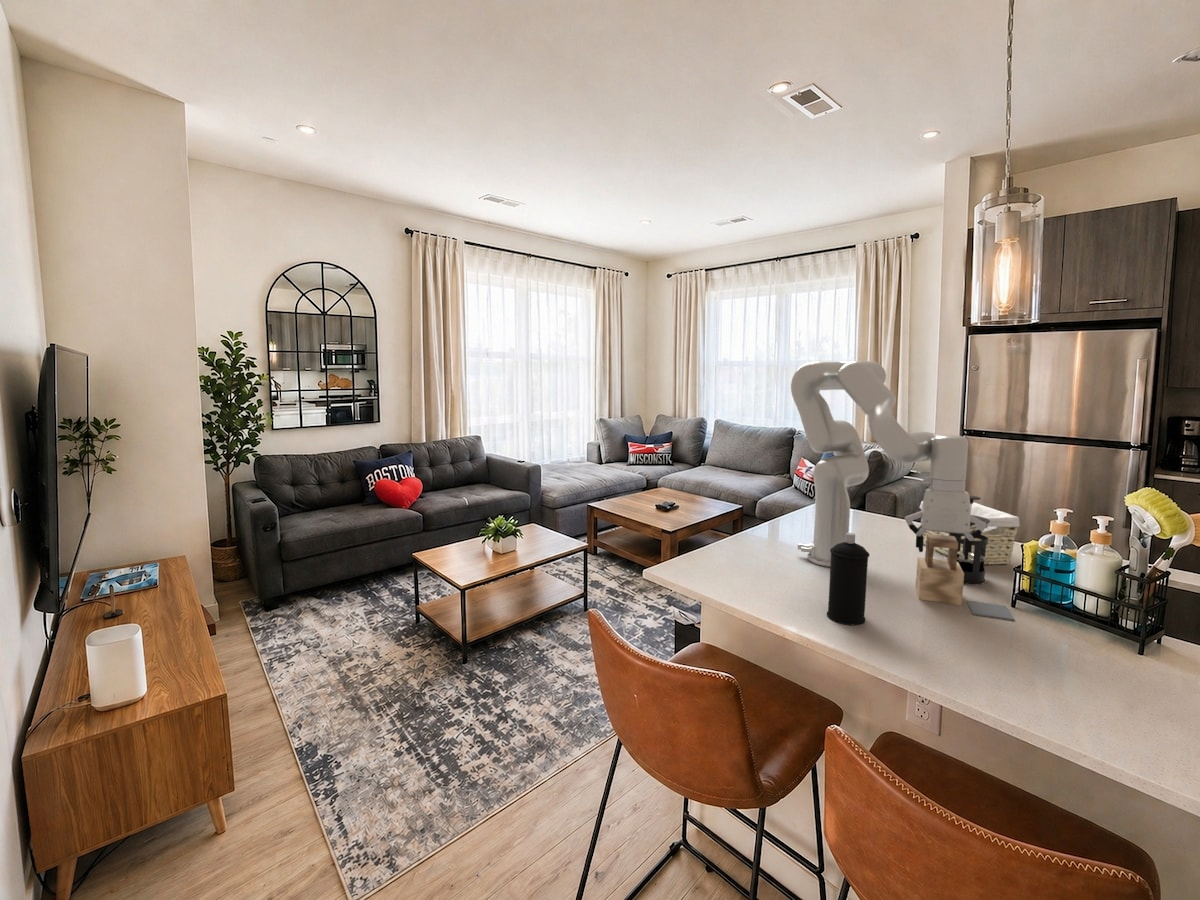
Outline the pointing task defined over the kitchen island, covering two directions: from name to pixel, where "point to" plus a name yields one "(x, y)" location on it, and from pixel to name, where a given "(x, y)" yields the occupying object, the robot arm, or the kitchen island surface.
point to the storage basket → (989, 534)
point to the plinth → (939, 582)
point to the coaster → (990, 610)
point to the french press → (974, 561)
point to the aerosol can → (848, 582)
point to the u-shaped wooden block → (944, 543)
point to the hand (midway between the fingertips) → (942, 552)
